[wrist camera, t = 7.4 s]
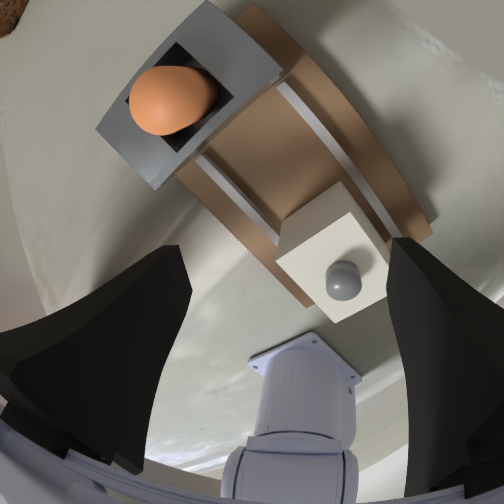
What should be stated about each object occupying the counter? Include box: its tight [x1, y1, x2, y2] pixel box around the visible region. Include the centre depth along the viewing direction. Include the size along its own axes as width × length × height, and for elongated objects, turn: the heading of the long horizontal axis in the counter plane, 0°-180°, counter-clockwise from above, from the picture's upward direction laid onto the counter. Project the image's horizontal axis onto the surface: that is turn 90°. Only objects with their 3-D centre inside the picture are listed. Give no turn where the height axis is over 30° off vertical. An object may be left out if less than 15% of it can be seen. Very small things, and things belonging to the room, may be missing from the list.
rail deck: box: [174, 3, 433, 308], centre depth 17 cm, size 18×11×3 cm, turn 43°
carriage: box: [275, 181, 390, 323], centre depth 17 cm, size 6×4×5 cm
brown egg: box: [129, 66, 218, 135], centre depth 11 cm, size 3×3×3 cm
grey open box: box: [96, 0, 289, 190], centre depth 13 cm, size 4×8×5 cm, turn 133°
